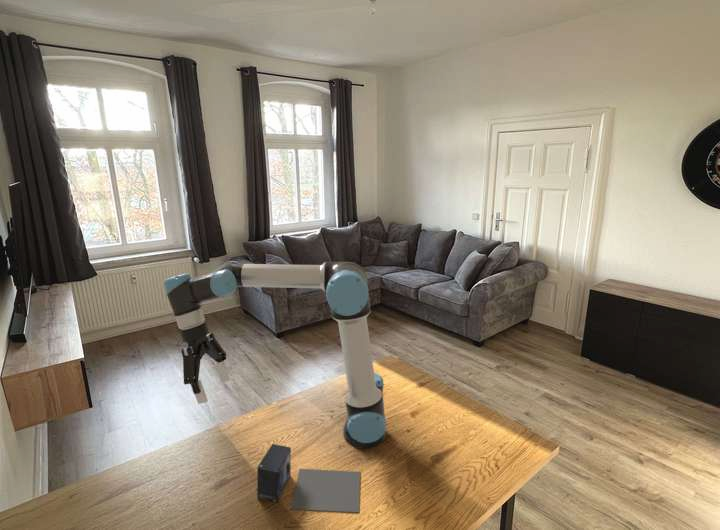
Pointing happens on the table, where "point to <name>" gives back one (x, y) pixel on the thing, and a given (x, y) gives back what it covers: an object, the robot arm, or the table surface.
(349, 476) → the mat
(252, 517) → the table surface
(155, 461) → the table surface
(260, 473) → the small box
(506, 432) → the table surface
